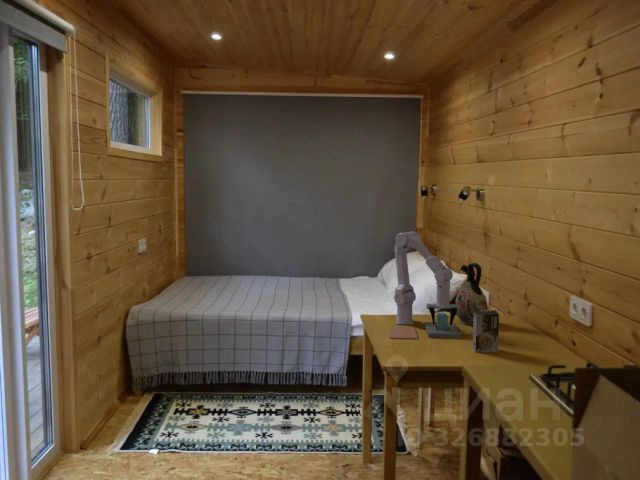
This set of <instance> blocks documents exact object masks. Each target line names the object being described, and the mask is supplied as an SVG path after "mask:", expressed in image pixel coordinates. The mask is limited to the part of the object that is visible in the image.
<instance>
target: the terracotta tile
mask: <svg viewBox="0 0 640 480" xmlns="http://www.w3.org/2000/svg"><path fill="white" fill-rule="evenodd" d="M388 333H389V334H388V335H389V339H390V338H395V340H396V339H397V340H418V334H417V332H416V328H415V327H412V326H411V327H409V326H405V327H404V326H403V327H402V326H388Z"/></svg>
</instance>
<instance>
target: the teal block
mask: <svg viewBox="0 0 640 480" xmlns="http://www.w3.org/2000/svg"><path fill="white" fill-rule="evenodd" d="M436 322H437V330H448V323H449V317H448V314H447V313H443V312H441V313H440V312H439V313H438V312H437V314H436Z"/></svg>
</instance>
